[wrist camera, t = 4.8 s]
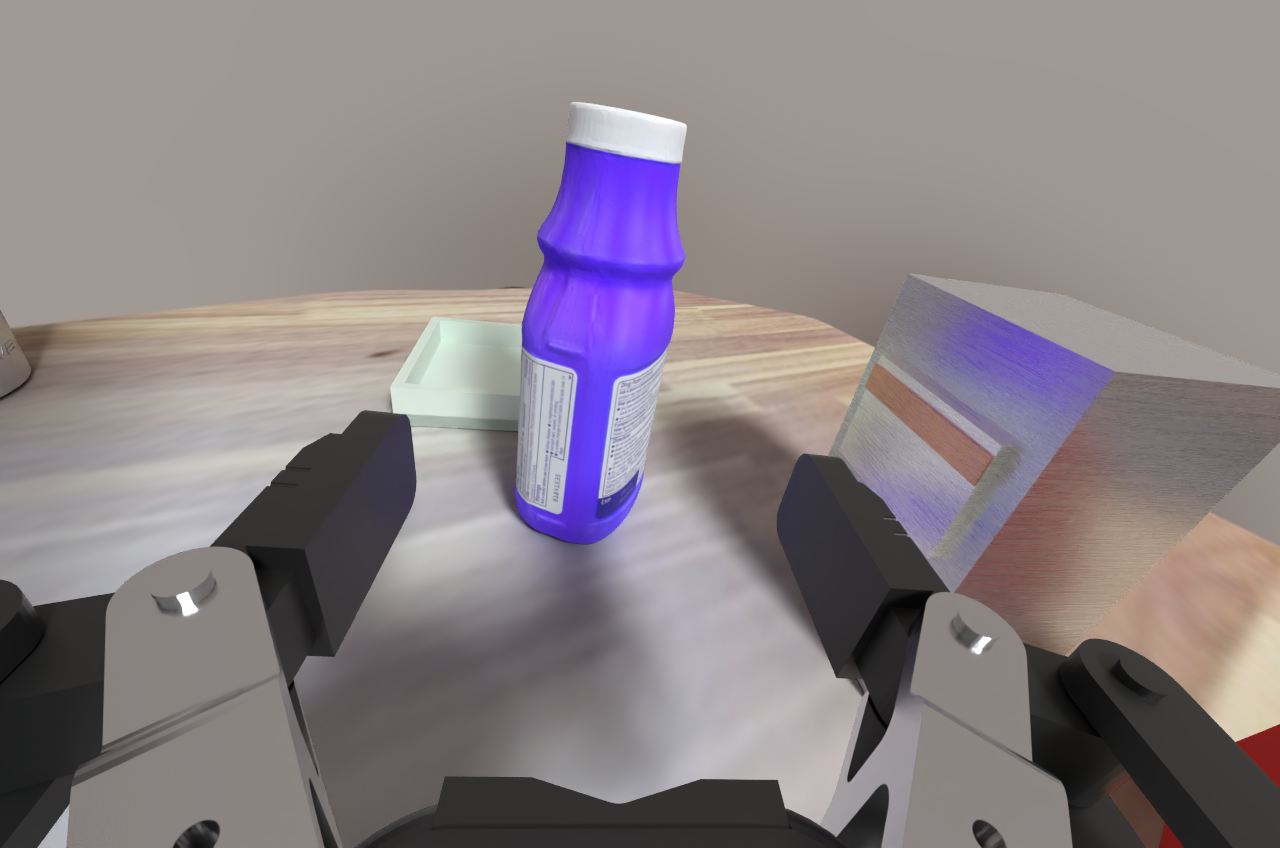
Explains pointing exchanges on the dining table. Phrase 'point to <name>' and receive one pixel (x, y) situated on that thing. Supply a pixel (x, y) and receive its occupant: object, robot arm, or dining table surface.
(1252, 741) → the bracket
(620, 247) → the bottle
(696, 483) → the dining table surface
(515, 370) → the tray
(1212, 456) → the dispenser
